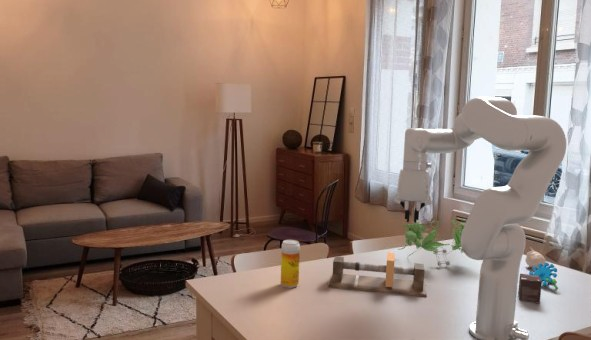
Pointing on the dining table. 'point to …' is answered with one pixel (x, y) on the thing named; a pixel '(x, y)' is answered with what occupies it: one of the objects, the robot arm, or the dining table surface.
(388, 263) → the collar
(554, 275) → the blue lobed piece
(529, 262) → the garlic bulb
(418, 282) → the pipe stand
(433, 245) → the plant cuttings
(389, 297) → the dining table surface
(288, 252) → the beer can
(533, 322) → the dining table surface
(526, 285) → the box
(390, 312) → the dining table surface
